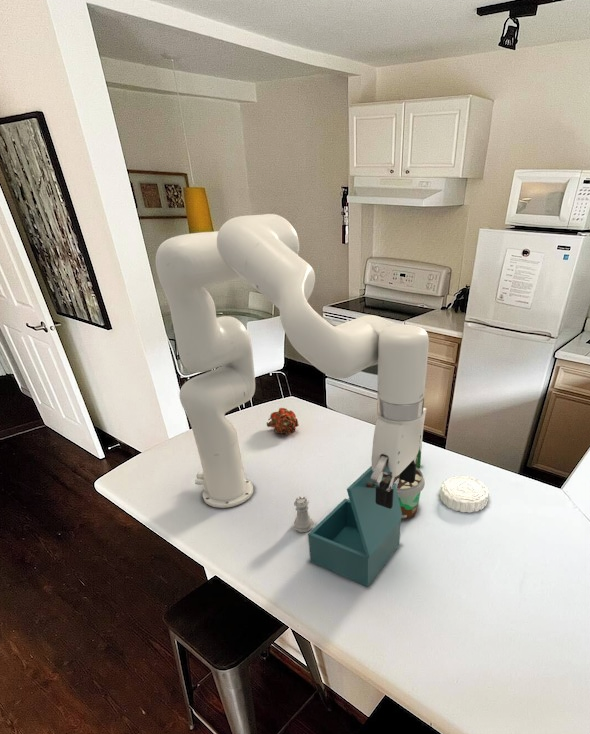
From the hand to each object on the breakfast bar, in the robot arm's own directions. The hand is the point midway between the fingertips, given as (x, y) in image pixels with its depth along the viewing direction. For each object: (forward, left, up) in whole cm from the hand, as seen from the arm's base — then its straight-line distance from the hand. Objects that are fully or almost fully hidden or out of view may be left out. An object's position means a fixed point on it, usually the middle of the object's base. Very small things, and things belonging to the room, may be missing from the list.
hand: (395, 492), depth 82 cm
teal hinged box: (-9, +2, -20) cm, 21 cm away
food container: (-1, +20, -20) cm, 28 cm away
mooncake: (+11, +29, -20) cm, 37 cm away
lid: (-4, +1, -4) cm, 6 cm away
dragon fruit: (-49, +47, -20) cm, 71 cm away
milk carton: (-7, +38, -20) cm, 44 cm away
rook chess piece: (-23, +6, -20) cm, 31 cm away
